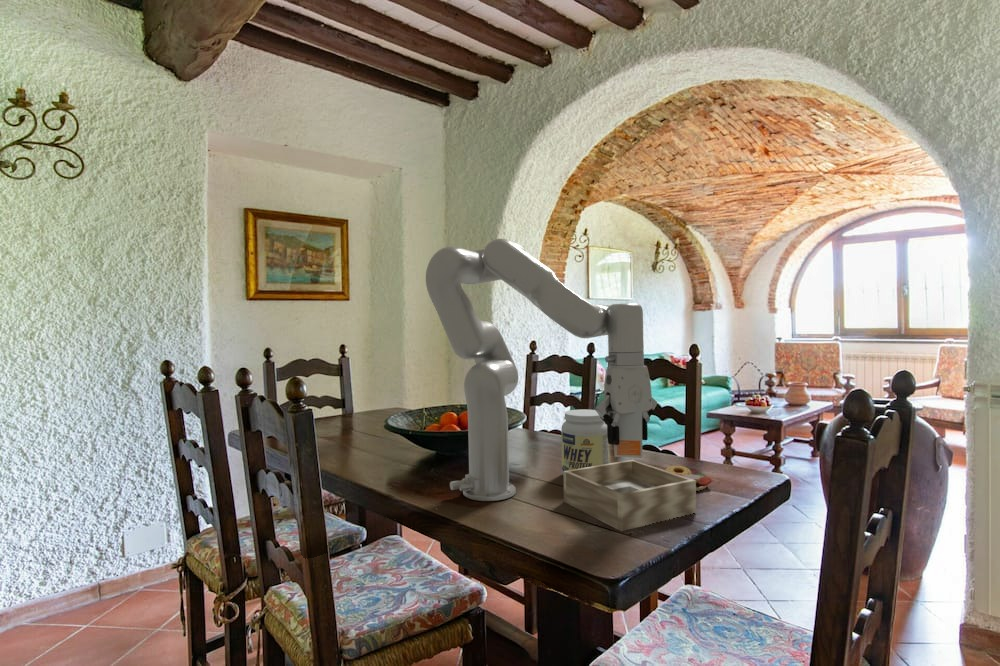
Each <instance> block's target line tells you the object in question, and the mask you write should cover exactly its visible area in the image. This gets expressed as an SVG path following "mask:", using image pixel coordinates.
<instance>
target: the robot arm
mask: <svg viewBox="0 0 1000 666" xmlns="http://www.w3.org/2000/svg"><path fill="white" fill-rule="evenodd" d="M426 267H427V268H426V271H425V286H426V291H427V293H428V296H429V298H430V300H431V302H432V305H433V307H434V309H435V311H436V313H437V316H438V317H439V320H440V322H441V325H442V326H443V330H444V331H445V334H446V337H447V338H448V341H449V344H450V345H451V348H452V350H453V351H454V353H455V355H456V356H457V357H459V359H463V360H468V361H469V360H470V361H471V360H474V363H475V364H474V365H472V367H470V369H469V370H468V371H467V373H466V374H465V377H464V383H463V391H464V396H465V400H466V401H465V402H466V410H467V430H468V431H467V432H468V434H467V435H468V473H467V474H465V477H463V478H462V479H461V480H453V481H452V480H451V481H449V488H450V490H451V491H454V490H459V491H460V492H462V494H463V496H464V497H466V499H470V500H473V501H479V502H495V501H496V502H497V501H502V500H507V499H510V498H511V497H513V496H515V494H516V486H515V485H514V484H512V483H510V463H509V462H510V460H509V455H510V454H509V452H510V451H509V419H508V417H509V415H508V410H507V409H508V408H507V404H506V397H505V396H508V395H509V394H511V393H513V391H514V390H515V389H516V388H517V386H518V383H519V371H518V369H517V366H516V363H515V360H514V359H513V357H512V355H511V353H510V351H509V348H508V346H507V343H506V342H505V340H504V337H503V336H502V334H501V332H500V330H499V328H497V327H496V326H495V324H493V323H491V322H490V321H487V320H482V319H480V318H479V317H478V315H477V313H476V311H475V309H474V307H473V304H472V301H471V300H470V298H469V297H468V295H467V294H466V292H465V290H464V289H463V287H462V285H463V284H464V285H478V284H482V283H483V284H484V283H489V282H495V281H503V282H504V283H505V284H506V285H508V286H510V287H511V288H513V290H515V291H516V292H518V293H519V294H521V295H522V296H523V297H525V298H526V299H527V300H528V301H530V302H531V303H532V304H533V305H534V306H535V307H536V308H538V309H539V310H540V311H541V312H542V313H543V314H544V315H546V316H547V317H548V318H549V319H551V320H552V321H553V322H555V323H556V324H558V326H560V327H561V328H563V329H564V330H566V331H568V332H569V333H570V334H572V335H573V336H575V337H578V338H580V339H590V338H597V337H602V336H607V343H608V344H607V348H608V350H607V351H608V352H607V353H608V355H606V356H605V357H604V360H605V363H608V366H606V370H605V375H604V383H603V384H604V385H603V398H602V400H601V401H600V402H599V403H598V405H597V406H596V407H595V409H594V410H596V412H597V413H598V414H599V416H600V418H601V419H602V420H603V421H604V423H605V424H606V425H607V438H608V444H611V445H613V446H614V445H619V426H616V425H617V422H618V420H619V417H620V415H623V414H632V413H635V412H636V405H637V403H638V402H641V403H642V441H648V439H649V437H648V423H649V422H650V421H651V417H652V415H653V413H654V410H655V408H656V407H657V405H658V402H657V401H656V399H655V398H653V396H652V385H651V379H650V373H649V369H648V366H647V365H645V356H644V354H645V350H644V348H645V347H644V346H645V345H644V344H645V343H644V310H643V306H642V305H641V304H640V303H632V302H630V303H629V302H627V303H626V302H624V303H623V302H622V303H614V304H613V303H612V304H611V305H606V304H596V303H590V302H589V301H587V300H585V299H584V298H582V297H581V296H580V295H578V294H577V293H575V292H574V291H572V290H571V289H570V288H569V287H567V286H566V285H565V284H563V282H561V281H560V280H559V279H558V277H557V276H556V273H555V272H554V271H553V270H552V269H551V268H550V267H548V266H546V265H545V264H543V263H542V262H541V261H539V260H538V259H536V258H535V257H534V256H532V255H530V253H528V252H527V251H526V250H525V248H524V247H523V246H522V245H521V244H519V243H516V242H515V241H512V240H508V239H507V238H506V239H505V238H495V239H494V240H491V241H489V242H488V243H487V244H486V245H485V247H484V249H479V250H470V249H466V248H464V247H463V248H462V247H459V246H446V247H443V248H441V249H438V250H437V251H436V252H435V253H434V254H433V255H432V257H431V258H430V259H429V262H428V264H427V266H426ZM461 284H462V285H461Z"/></svg>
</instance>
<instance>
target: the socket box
mask: <svg viewBox="0 0 1000 666" xmlns="http://www.w3.org/2000/svg"><path fill="white" fill-rule="evenodd" d="M563 503H565V504H567V505H569V506H571V507H573V508H576V509H577V510H579V511H580V512H582V513H585V514H587V515H588V516H591V517H592V518H595V519H597V520H599V521H600V522H602V523H604V524H606V525H608V526H610V527H612V528H614V529H615V530H617V531H620V532H625V531H628V530H633V529H637V528H642V527H645V525H646V526H649V524H650V525H653V524H652V523H654V524H657V523H656V522H658V523H661V522H660V521H662V522H666V521H670V520H674V519H673V518H675V519H677V518H676V517H679V518H682V517H681V516H683V517H686V516H685V515H687V516H690V514H691V515H694V514H693V513H695V514H697V492H696V480H693V479H690V478H687V477H684V476H681V475H678V474H675V473H672V472H669V471H666V470H665V469H662V468H660V467H657V466H654V465H650V464H647V463H645V462H641V461H638V460H635V459H628V460H622V461H615V462H610V463H609V464H603V465H597V466H591V467H585V468H580V469H574V470H568V471H564V476H563ZM669 519H670V520H669ZM665 520H666V521H665Z"/></svg>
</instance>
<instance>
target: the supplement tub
mask: <svg viewBox="0 0 1000 666" xmlns="http://www.w3.org/2000/svg"><path fill="white" fill-rule="evenodd" d="M563 417H564V420H565V421H564V422H563V423H562V425H561V427H560V428H561V429H560V431H561V432H560V433H561V474H562V475H563V476H562V477H564V471H568V470H574V469H580V468H585V467H591V466H597V465H603V464H609V443H608V438H607V425H606V424H605V423H604V421H603V420H602V419H601V418H600V416H599V414H598V413H597V412H596V410H595V409H570V410H566V411H565V412H564V416H563Z"/></svg>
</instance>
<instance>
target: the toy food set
mask: <svg viewBox="0 0 1000 666" xmlns="http://www.w3.org/2000/svg"><path fill="white" fill-rule="evenodd" d="M664 470H666V471H669V472H672V473H675V474H678V475H681V476H684V477H687V478H690V479H693V480H696V491H698V492H701V491H700V490H702V491H704V490H705V489H706V488H708V485H710V484H711V483H712V478H711V477H707V476H706V474H704V473H696V474H693V473H692V471H691V469H690V468H688V467H686V466H682V465H671V466H667V467H666V468H665V469H664ZM703 489H704V490H703Z"/></svg>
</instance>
